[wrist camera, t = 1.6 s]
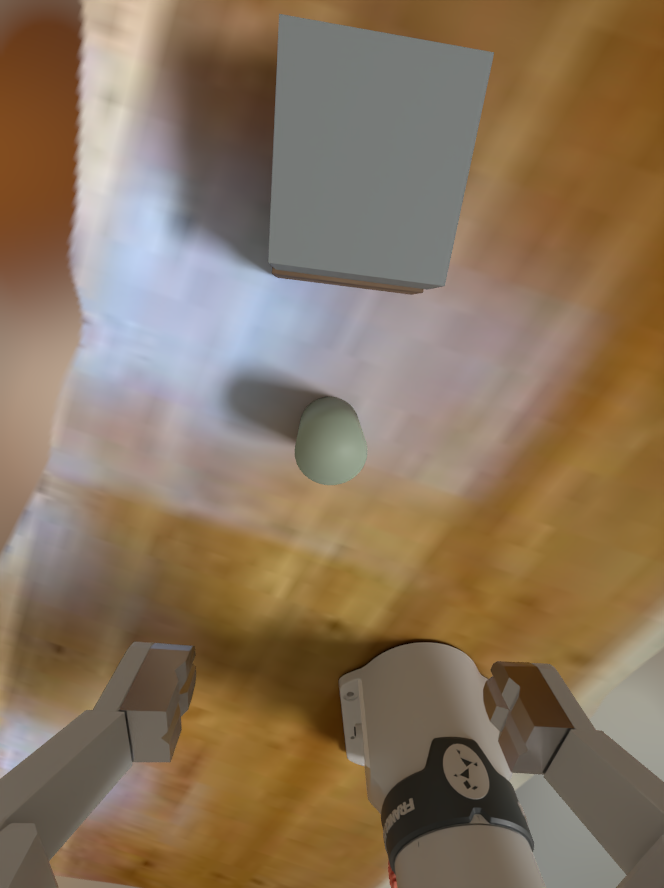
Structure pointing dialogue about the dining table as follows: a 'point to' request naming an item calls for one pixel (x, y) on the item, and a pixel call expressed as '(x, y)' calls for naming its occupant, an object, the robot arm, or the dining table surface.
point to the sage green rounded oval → (330, 442)
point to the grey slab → (371, 152)
